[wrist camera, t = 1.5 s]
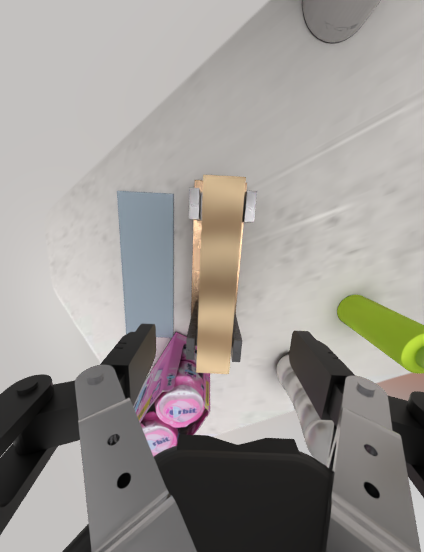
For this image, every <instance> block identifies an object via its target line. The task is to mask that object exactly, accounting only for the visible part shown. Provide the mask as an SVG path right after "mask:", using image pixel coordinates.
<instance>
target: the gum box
mask: <svg viewBox="0 0 424 552" xmlns="http://www.w3.org/2000/svg"><path fill="white" fill-rule="evenodd" d="M186 338H187V337H185V336H183V335H181V334H179V333H177V332H176V333H175V334H174V336H173V337H172V339H171V341H170V342H169V344H168V346H167V347H166V349H165V350H164V352H163V353H162V355H161V357H160V358H159V360H158V361H157V363H156V364H155V366H154V367H153V369H152V371H151V372H150V374H149V376H148V377H147V379H146V380H145V382H144V384H143V386H142V388H141V391H140V393H139V395H138V397H137V400H136V402H135V404H134V406H133V407H134V410H135V412H136V415H137V417H138V419H139V422H140V424H141V427H142V429H143V432H144V434H145V437H146V439H147V442H148V444H149V447H150V449H151V452H152V454H153V457H154V456H155V455H157V454H158V453H160V452H162V451H164V450H166V449H168V448H171V447H174V446H177V445H178V438H179V434H181V435H194V434H195V433H196V432H197V430H198V429H199V428H200V427H201V425H202V424H203V422H204V421H205V419H206V418H207V417H208V415H209V413H210V373H196V365H197V346H196V349H195V356H194V360H186Z"/></svg>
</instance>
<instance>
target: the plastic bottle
mask: <svg viewBox="0 0 424 552" xmlns="http://www.w3.org/2000/svg"><path fill="white" fill-rule="evenodd" d="M276 371H277V376H278V380H279V382H280V383H281V385H282V387H283V388H284V389H285V390H286V392H287V394H288V396H289V398H290V399H291V401H292V403H293V405H294V408H295V410H296V413H297V416H298V418H299V421H300V425H301V428H302V431H303V435H304V438H305V442H306V445H307V448H308V450H309V452H310V453H311V455H312V456H313V457H314V458H315V459H317V460H318V461H320V462H321V463H323V464H324V465H326V466H327V460H328V454H329V448H330V443H331V437H332V431H333V427H334V423H333V421H332V420H321V419H320V417H319V415H318V414H317V412H316V410H315V408H314V406H313V405H312V403H311V401H310V399H309V398H308V396H307V394H306V392H305V390H304V389H303V387H302V385H301V383H300V381H299V380H298V378H297V376H296V374H295V373H294V371H293V369H292V367H291V365H290V362H289V355H286V356H284V357H282V358H281V359H280V361H279V362H278V364H277V368H276Z"/></svg>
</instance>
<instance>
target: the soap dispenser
mask: <svg viewBox="0 0 424 552" xmlns="http://www.w3.org/2000/svg"><path fill="white" fill-rule="evenodd" d="M337 314H338V317H339V319H340V320H341V321H342V322H344V323H345V324H346V325H348V326H349V327H350V328H352V329H353V330H354V331H356V332H357V333H358V334H360V335H361V336H362V337H364V338H365V339H366V340H368V341H369V342H370V343H372V344H373V345H374V346H376V347H377V348H378V349H380V350H381V351H382V352H384V353H385V354H386V355H388V356H389V357H390V358H392V359H393V360H395V361H396V362H397V363H399V364H400V365H401V366H403V367H404V368H405V369H407V370H408V371H410V372H413V373H424V325H422V324H420V323H418V322H416V321H414V320H411V319H409V318H407V317H405V316H403V315H401V314H399V313H397V312H395V311H392V310H390V309H388V308H386V307H384V306H382V305H380V304H378V303H376V302H374V301H371V300H369V299H367V298H365V297H363V296H361V295H351V296H348V297H346V298H345V299H344V300H342V301H341V303H340V304H339V306H338V309H337Z"/></svg>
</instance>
